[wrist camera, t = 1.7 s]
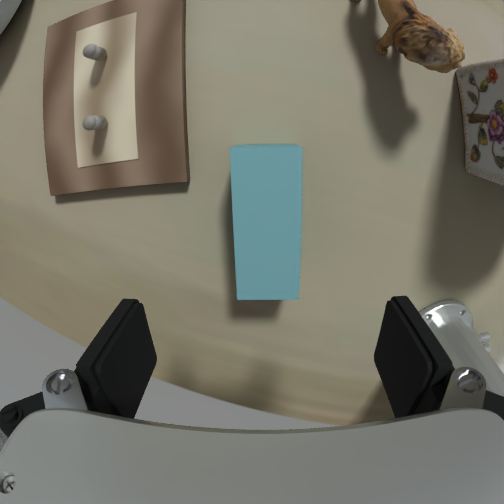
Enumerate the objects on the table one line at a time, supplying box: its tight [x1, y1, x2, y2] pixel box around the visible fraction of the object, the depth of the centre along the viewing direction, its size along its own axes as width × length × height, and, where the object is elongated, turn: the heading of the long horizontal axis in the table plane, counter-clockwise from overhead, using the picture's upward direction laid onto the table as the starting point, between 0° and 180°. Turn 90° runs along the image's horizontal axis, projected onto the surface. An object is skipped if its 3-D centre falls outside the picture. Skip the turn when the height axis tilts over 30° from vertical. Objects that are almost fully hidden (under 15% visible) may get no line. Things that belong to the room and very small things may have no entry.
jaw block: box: [230, 144, 302, 300], centre depth 25 cm, size 5×12×6 cm, turn 2°
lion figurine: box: [352, 0, 465, 73], centre depth 15 cm, size 15×5×9 cm, turn 28°
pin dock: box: [43, 0, 190, 196], centre depth 21 cm, size 16×20×4 cm
